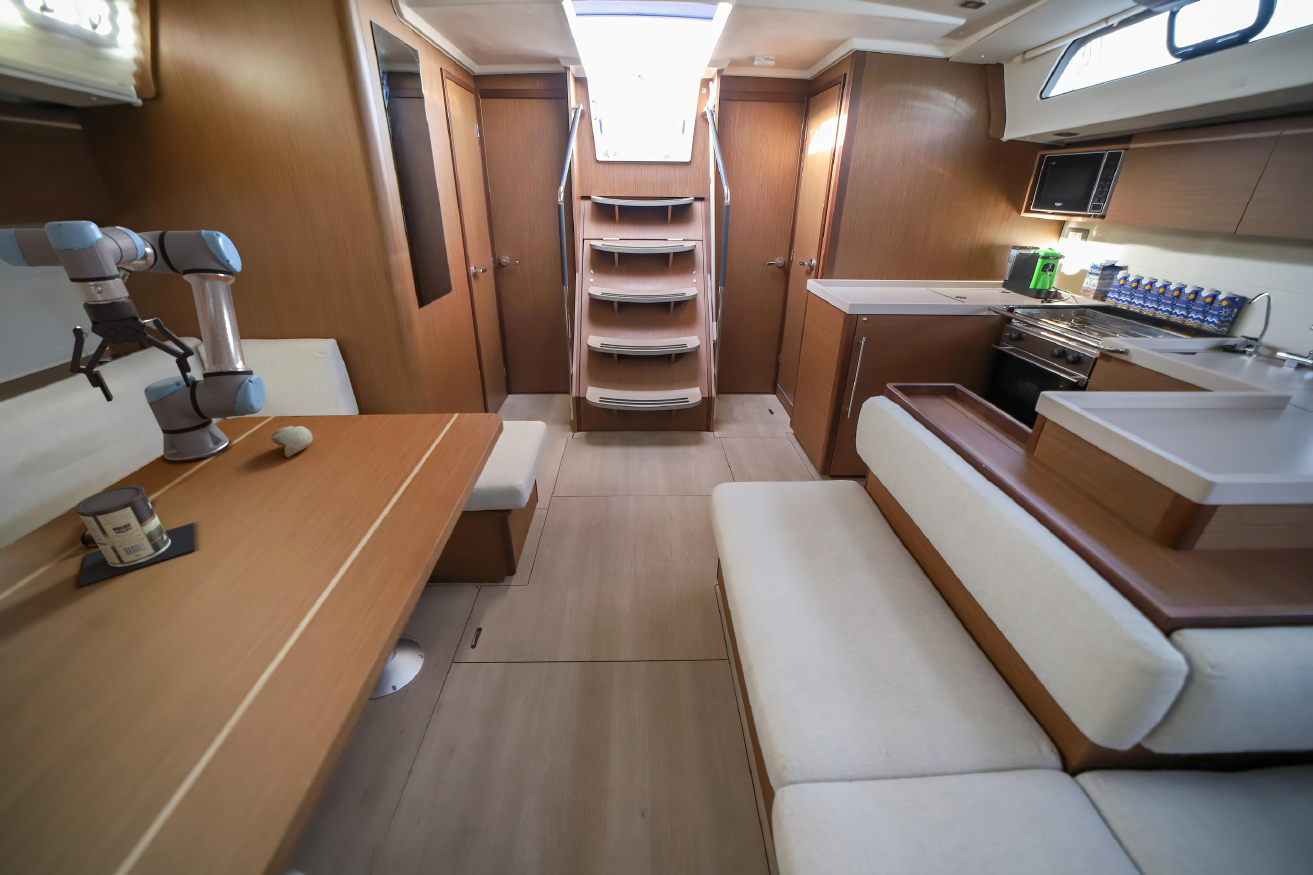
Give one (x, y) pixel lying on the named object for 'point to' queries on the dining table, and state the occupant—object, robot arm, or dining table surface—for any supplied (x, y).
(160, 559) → the place mat
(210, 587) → the dining table surface
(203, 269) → the robot arm
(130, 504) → the coffee can
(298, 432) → the seashell
